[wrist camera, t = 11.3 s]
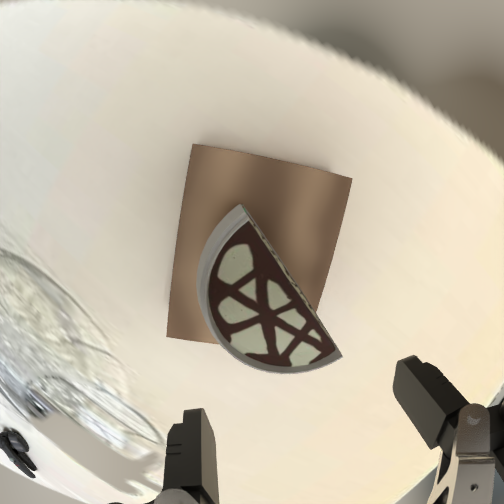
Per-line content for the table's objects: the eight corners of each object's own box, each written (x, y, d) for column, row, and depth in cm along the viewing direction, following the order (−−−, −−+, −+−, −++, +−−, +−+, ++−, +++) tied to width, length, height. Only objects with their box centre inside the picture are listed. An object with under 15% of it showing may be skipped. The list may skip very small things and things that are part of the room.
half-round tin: (172, 231, 25) (148, 276, 16) (232, 188, 25) (243, 209, 15) (253, 332, 29) (270, 406, 20) (307, 298, 28) (346, 361, 19)
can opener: (-3, 420, 37) (-13, 437, 32) (21, 430, 39) (12, 449, 33) (24, 463, 43) (17, 479, 37) (46, 473, 44) (41, 489, 38)
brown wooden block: (173, 308, 34) (166, 336, 28) (197, 146, 29) (192, 143, 23) (290, 323, 36) (302, 351, 30) (329, 173, 31) (352, 178, 25)
